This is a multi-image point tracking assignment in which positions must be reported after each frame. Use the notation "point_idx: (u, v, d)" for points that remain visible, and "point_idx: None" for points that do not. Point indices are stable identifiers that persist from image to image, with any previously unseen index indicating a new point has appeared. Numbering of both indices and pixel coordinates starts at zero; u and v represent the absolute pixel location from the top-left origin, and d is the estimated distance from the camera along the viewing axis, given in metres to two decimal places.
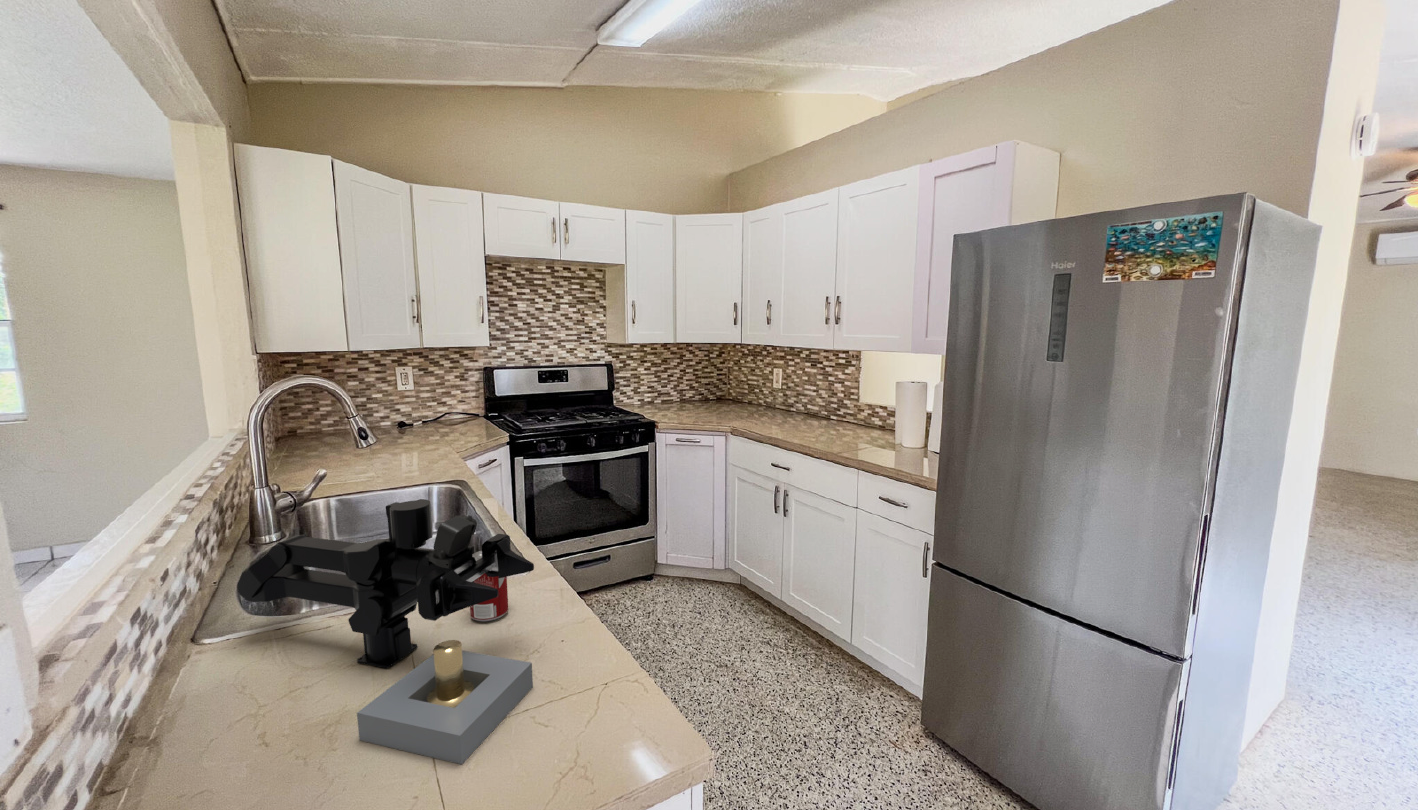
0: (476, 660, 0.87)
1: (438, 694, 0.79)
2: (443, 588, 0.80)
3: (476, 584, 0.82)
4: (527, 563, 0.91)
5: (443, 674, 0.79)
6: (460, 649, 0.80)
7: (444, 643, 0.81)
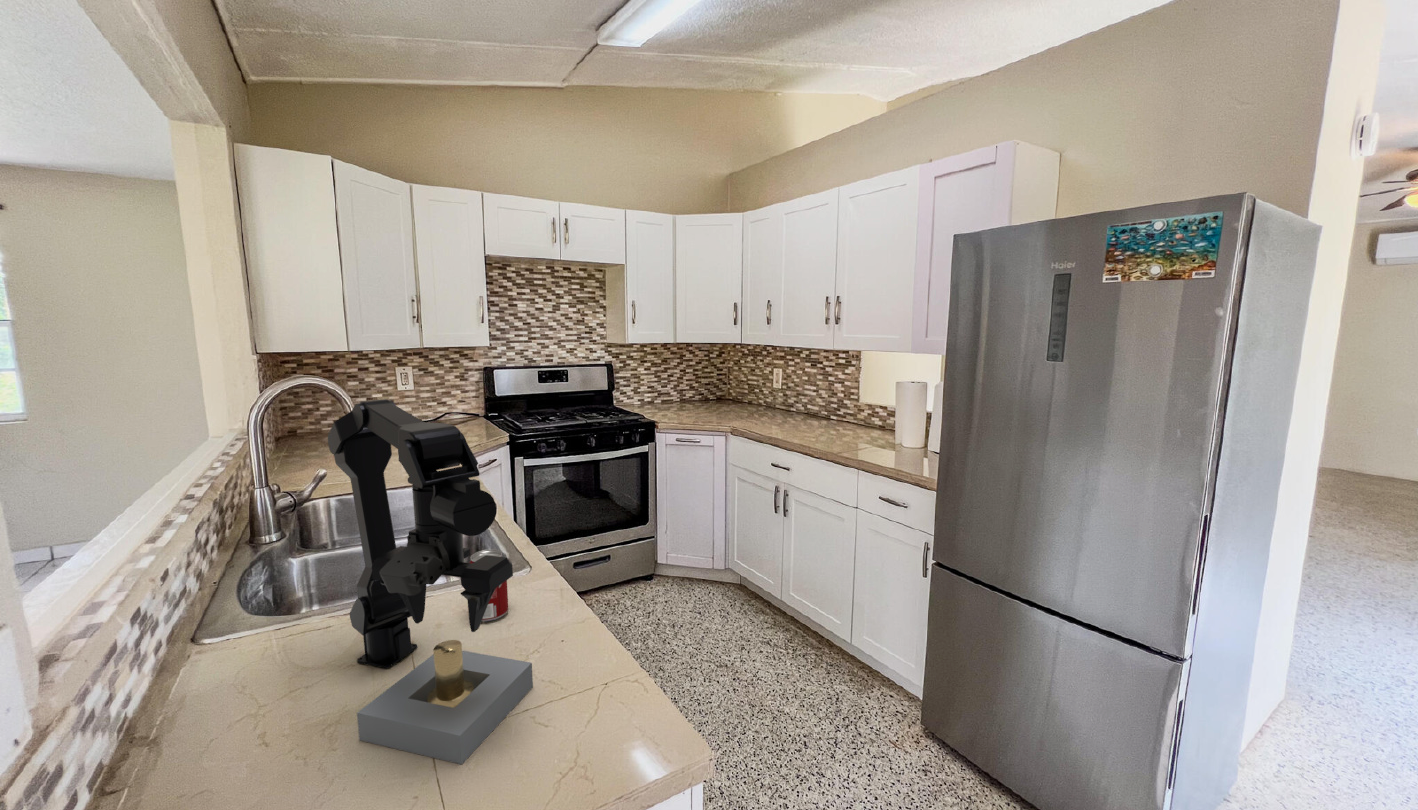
0: (476, 660, 0.87)
1: (438, 694, 0.79)
2: None
3: (408, 604, 0.79)
4: (470, 626, 0.78)
5: (443, 674, 0.79)
6: (460, 649, 0.80)
7: (444, 643, 0.81)
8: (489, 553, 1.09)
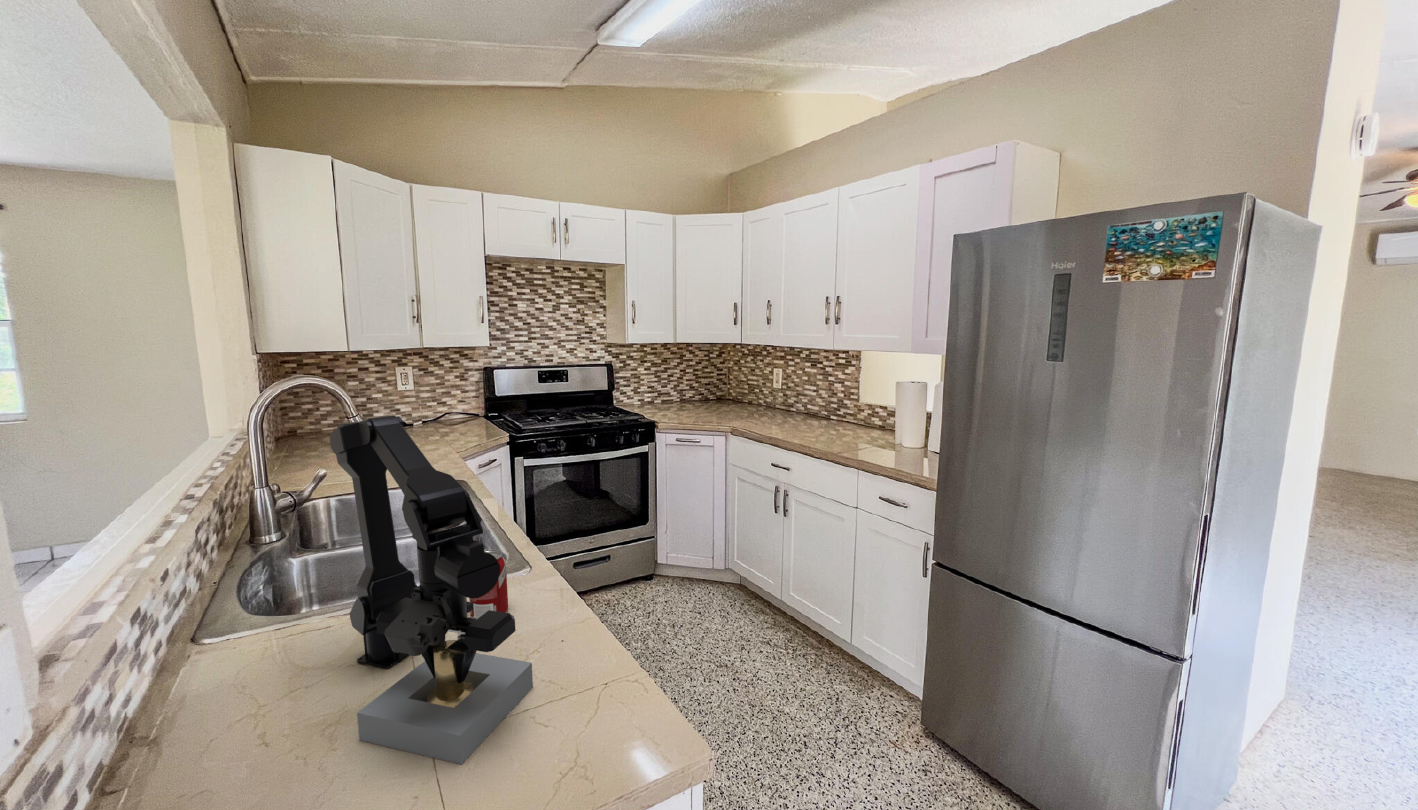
0: (476, 660, 0.87)
1: (438, 694, 0.79)
2: None
3: (428, 660, 0.80)
4: (457, 678, 0.80)
5: (443, 674, 0.79)
6: None
7: (444, 643, 0.81)
8: None
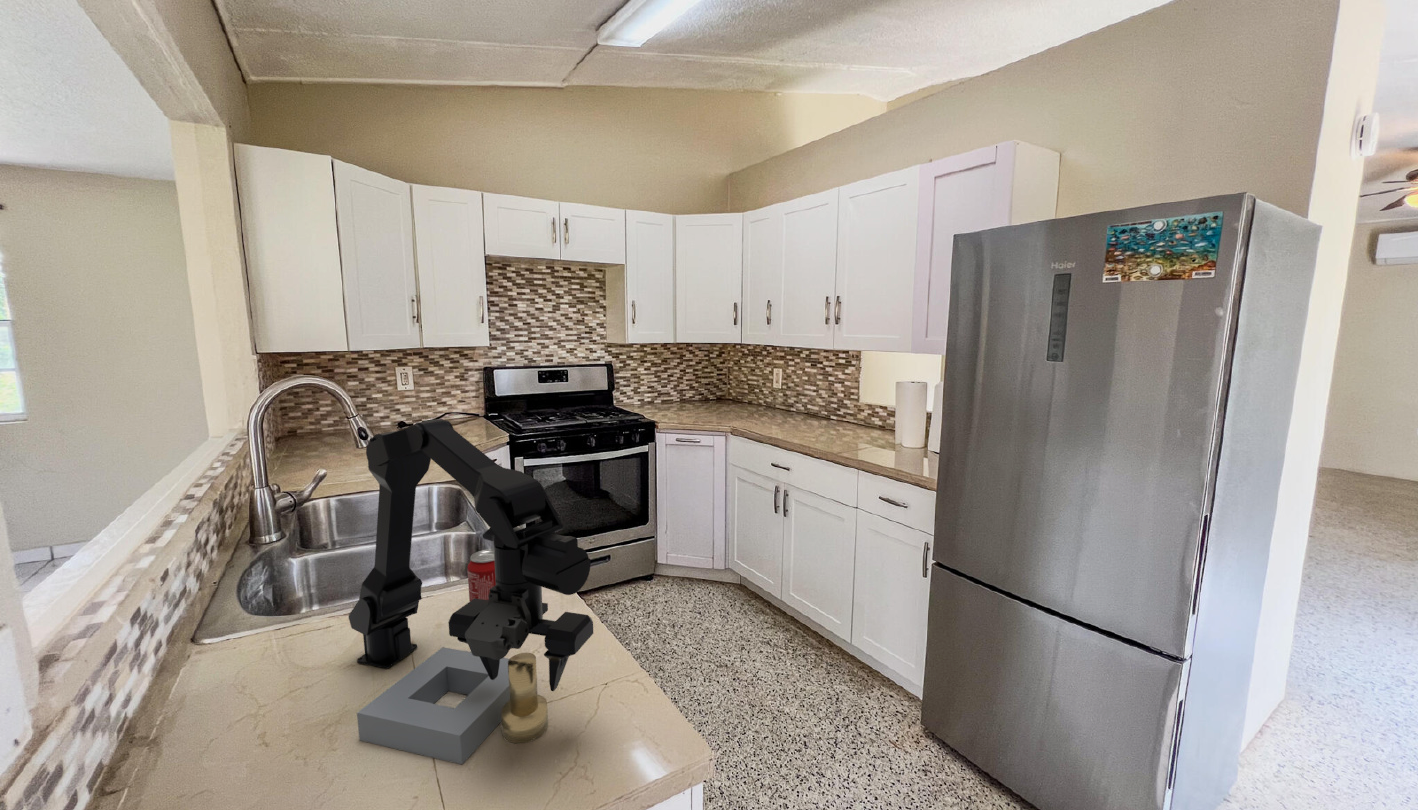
0: (476, 660, 0.87)
1: (513, 709, 0.76)
2: None
3: (485, 661, 0.77)
4: (550, 685, 0.76)
5: (519, 688, 0.75)
6: (535, 662, 0.77)
7: (517, 656, 0.78)
8: (489, 553, 1.09)
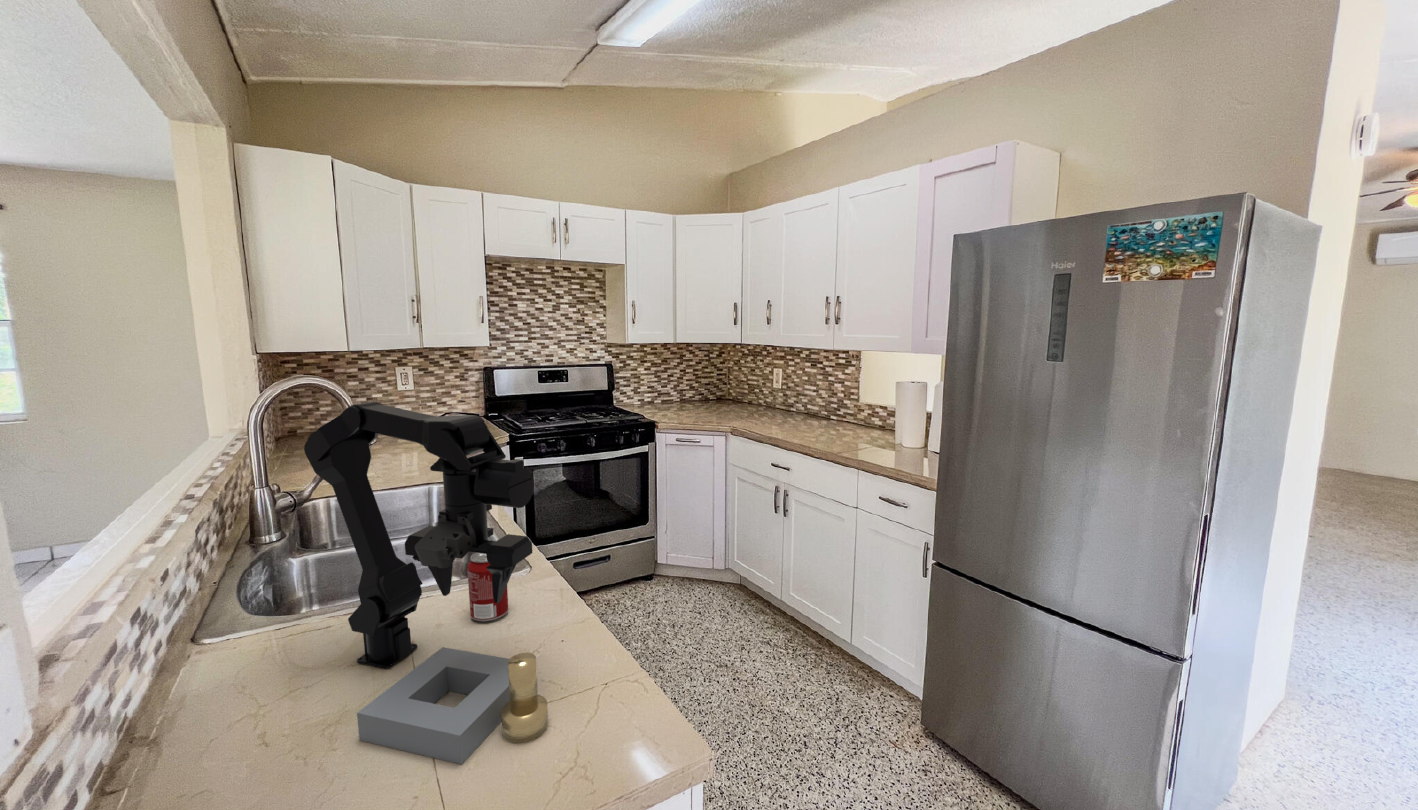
0: (476, 660, 0.87)
1: (513, 709, 0.76)
2: None
3: (437, 578, 0.87)
4: (494, 598, 0.86)
5: (519, 688, 0.75)
6: (535, 662, 0.77)
7: (517, 656, 0.78)
8: None
